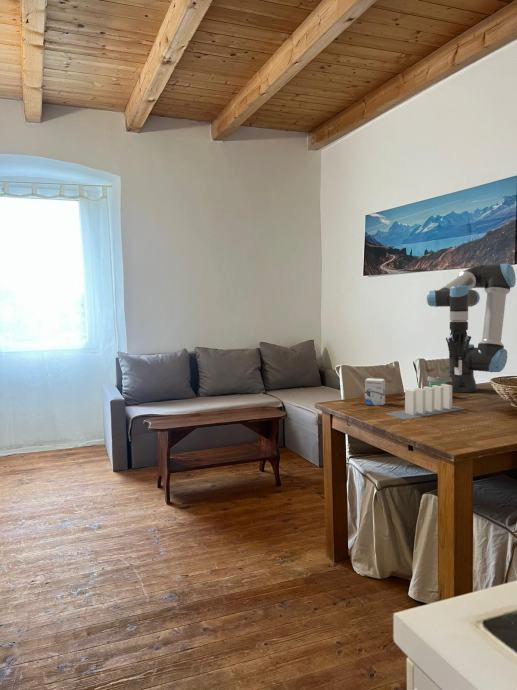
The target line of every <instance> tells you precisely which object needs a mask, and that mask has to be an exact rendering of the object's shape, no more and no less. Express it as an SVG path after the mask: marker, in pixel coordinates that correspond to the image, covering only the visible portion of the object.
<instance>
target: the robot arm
mask: <svg viewBox="0 0 517 690" xmlns="http://www.w3.org/2000/svg"><path fill="white" fill-rule="evenodd" d="M516 281H517V280H516V271H515V269H514V267H513V266H512V264H510V263H495V264H494V263H493V264H478V265H474V266H472V267H470V268H467V269H465V270H463V271H461V272H460V273H459V274H458V275H457V277H456V278H455V279H453V280H452V281H450V282H449V283H447V284H446V285H445V286H443V287H441V288H439V289H437V290H435V289H434V290H430V291H428V293H427V295H426V304H427V305H428V306H430V307H435V308H437V307H438V308H439V307H440V308H442V307H443V308H444V307H449V321H450V322H449V331H450V333H449V336H448V337H446V338H445V341H446V342H447V347H448V353H449V354H448V362H449V363H448V366H449V367H448V377H447V378H449V377H451V378H452V382H451V386H452V393H473V392H474V393H475V392H477V391H478V385H477V382H476V379H475V375H474V371H475V372H484V373H485V372H489V373H500V372H502V371H503V370H504V368H505V367H506V365H507V361H508V350H507V349H505V348H504V347H505V345H504V344H503V343H502V335H503V325H504V316H505V310H506V309H505V308H506V299H507V295H508V294H509V293H510V292H511V288H514V287H515V285H516ZM475 289H484V291H485V292H484V293H486V301H485V302H486V303H485V312H484V321H483V329H482V330H483V331H482V339H481V341H479V342H478V343H477V345H478V346H477V347H475V345H474V343H470V341H471V339H472V336H471V335H468V332H467V330H468V329H469V322H468V321H469V307H474V306H476V305H478V304H479V302H480V300H481V298H480V293H479V292H478V291H477V290H475Z"/></svg>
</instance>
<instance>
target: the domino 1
mask: <svg viewBox="0 0 517 690" xmlns="http://www.w3.org/2000/svg"><path fill="white" fill-rule="evenodd" d="M404 398H405V399H404V410H405V413H408V414H411V415H416V391H414V390H413V389H410V388H406V389H404Z"/></svg>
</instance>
